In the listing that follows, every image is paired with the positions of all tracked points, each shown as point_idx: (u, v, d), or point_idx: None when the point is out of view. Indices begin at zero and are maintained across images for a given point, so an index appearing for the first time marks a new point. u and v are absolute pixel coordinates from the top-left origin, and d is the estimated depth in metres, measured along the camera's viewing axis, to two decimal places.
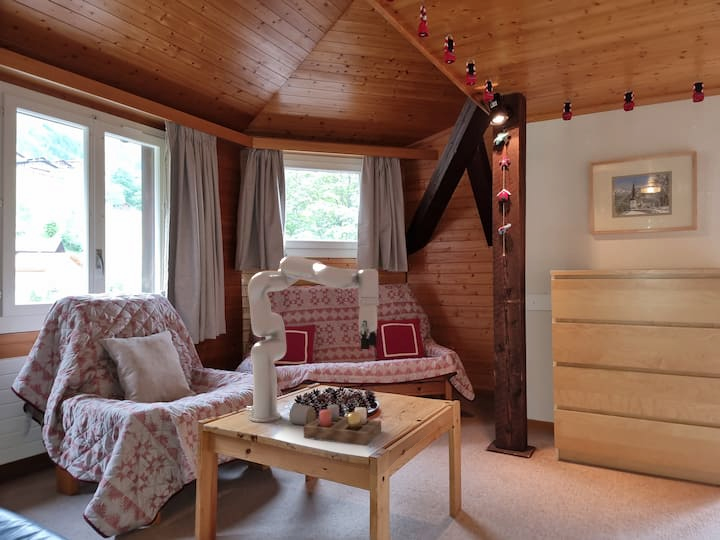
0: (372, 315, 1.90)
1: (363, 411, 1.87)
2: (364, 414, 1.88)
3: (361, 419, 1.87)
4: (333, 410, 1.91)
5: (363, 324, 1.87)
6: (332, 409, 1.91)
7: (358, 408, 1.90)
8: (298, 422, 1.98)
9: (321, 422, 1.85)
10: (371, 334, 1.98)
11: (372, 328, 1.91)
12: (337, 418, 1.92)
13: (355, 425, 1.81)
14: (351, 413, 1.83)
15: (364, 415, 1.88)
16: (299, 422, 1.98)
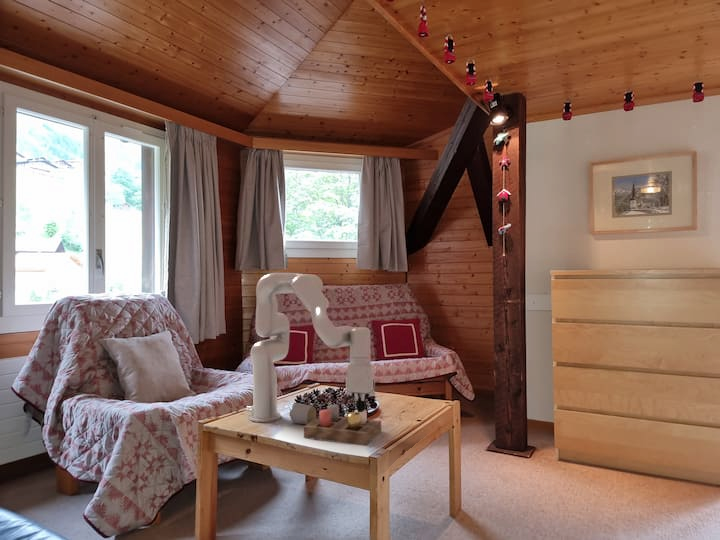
0: None
1: (363, 413, 1.87)
2: (364, 416, 1.88)
3: (361, 421, 1.87)
4: (333, 410, 1.91)
5: (373, 389, 1.87)
6: (332, 409, 1.91)
7: None
8: (299, 421, 1.99)
9: (321, 422, 1.85)
10: (359, 399, 1.89)
11: None
12: (337, 418, 1.92)
13: (355, 425, 1.81)
14: (351, 413, 1.83)
15: (364, 417, 1.88)
16: (300, 421, 1.99)
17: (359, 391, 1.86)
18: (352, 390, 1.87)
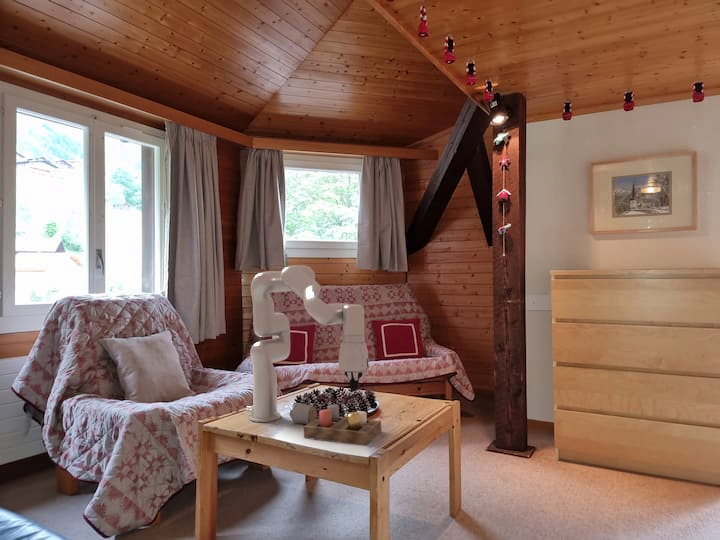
0: None
1: (363, 415, 1.87)
2: (364, 418, 1.88)
3: (361, 423, 1.87)
4: (333, 410, 1.91)
5: (367, 368, 1.81)
6: (332, 409, 1.91)
7: (358, 412, 1.90)
8: (300, 421, 2.00)
9: (321, 422, 1.85)
10: (353, 378, 1.83)
11: None
12: (337, 418, 1.92)
13: (355, 425, 1.81)
14: (351, 413, 1.83)
15: (364, 419, 1.88)
16: (301, 421, 1.99)
17: (352, 370, 1.80)
18: (345, 369, 1.81)
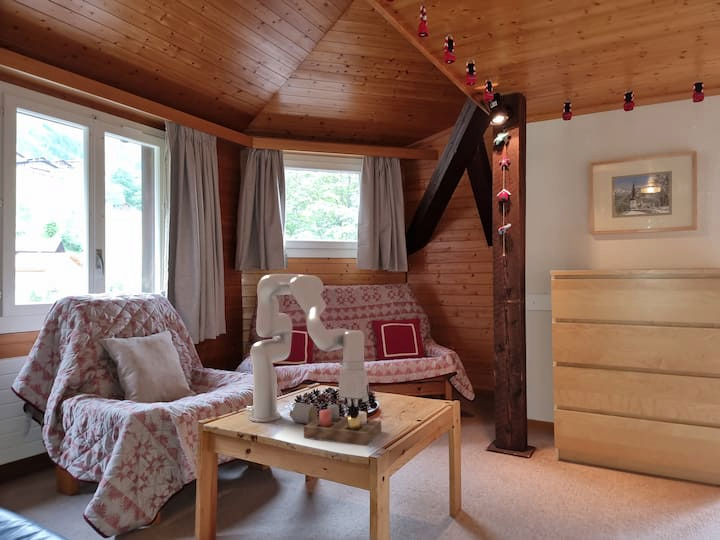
0: None
1: (363, 415, 1.87)
2: (364, 418, 1.88)
3: (361, 423, 1.87)
4: (333, 410, 1.91)
5: (367, 394, 1.81)
6: (332, 409, 1.91)
7: None
8: (300, 421, 2.00)
9: (321, 422, 1.85)
10: (353, 405, 1.82)
11: None
12: (337, 418, 1.92)
13: (355, 428, 1.81)
14: None
15: (364, 419, 1.88)
16: (301, 421, 2.00)
17: (352, 396, 1.80)
18: (345, 395, 1.81)
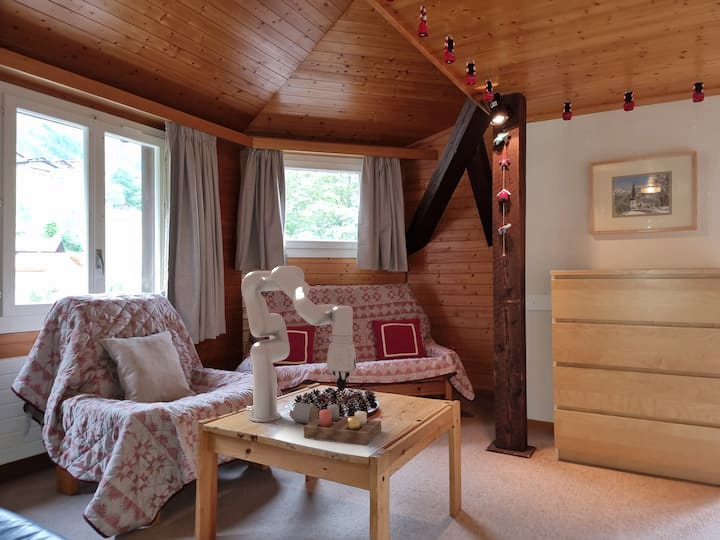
0: None
1: (363, 415, 1.87)
2: (364, 418, 1.88)
3: (361, 423, 1.87)
4: (333, 410, 1.91)
5: (354, 368, 1.86)
6: (332, 409, 1.91)
7: (358, 412, 1.90)
8: (301, 421, 2.00)
9: (321, 422, 1.85)
10: (340, 378, 1.88)
11: None
12: (337, 418, 1.92)
13: (355, 429, 1.81)
14: (351, 417, 1.83)
15: (364, 419, 1.88)
16: (302, 421, 2.00)
17: (340, 369, 1.85)
18: (333, 368, 1.86)
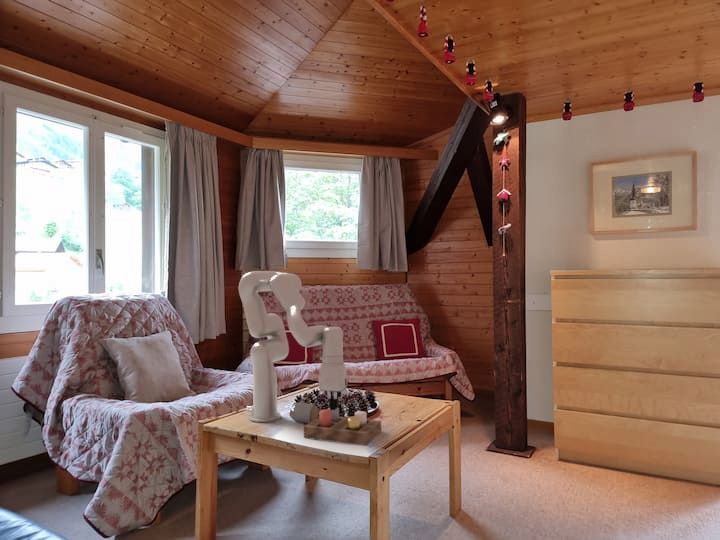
0: None
1: (363, 415, 1.87)
2: (364, 418, 1.88)
3: (361, 423, 1.87)
4: (333, 413, 1.91)
5: (345, 387, 1.91)
6: (332, 412, 1.91)
7: (358, 412, 1.90)
8: (302, 420, 2.01)
9: (321, 422, 1.85)
10: (332, 397, 1.93)
11: None
12: (337, 421, 1.92)
13: (355, 429, 1.81)
14: (351, 417, 1.83)
15: (364, 419, 1.88)
16: (303, 420, 2.01)
17: (331, 389, 1.90)
18: (325, 388, 1.91)
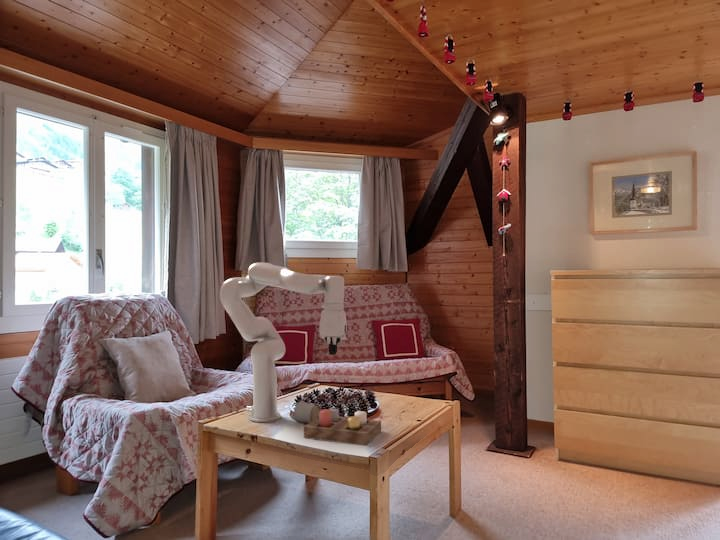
0: None
1: (363, 415, 1.87)
2: (364, 418, 1.88)
3: (361, 423, 1.87)
4: (333, 414, 1.91)
5: (344, 333, 1.99)
6: (332, 413, 1.91)
7: (358, 412, 1.90)
8: (302, 420, 2.01)
9: (321, 422, 1.85)
10: (332, 343, 2.00)
11: None
12: None
13: (355, 429, 1.81)
14: (351, 417, 1.83)
15: (364, 419, 1.88)
16: (303, 420, 2.01)
17: (331, 335, 1.98)
18: (325, 334, 1.99)
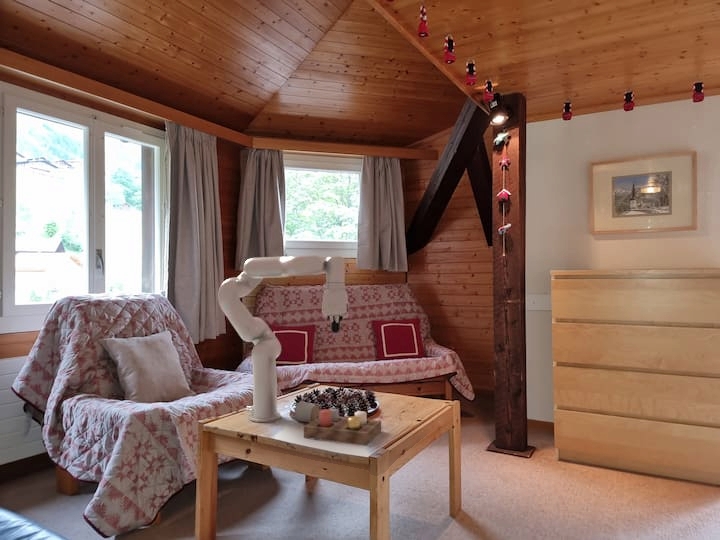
0: None
1: (363, 415, 1.87)
2: (364, 418, 1.88)
3: (361, 423, 1.87)
4: (333, 414, 1.91)
5: (346, 311, 2.06)
6: (332, 413, 1.91)
7: (358, 412, 1.90)
8: (303, 420, 2.02)
9: (321, 422, 1.85)
10: (334, 321, 2.07)
11: None
12: None
13: (355, 429, 1.81)
14: (351, 417, 1.83)
15: (364, 419, 1.88)
16: (304, 420, 2.01)
17: (334, 313, 2.04)
18: (327, 312, 2.05)
